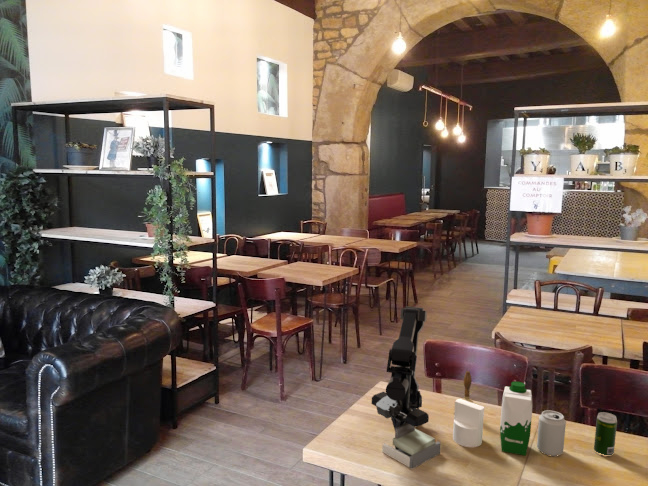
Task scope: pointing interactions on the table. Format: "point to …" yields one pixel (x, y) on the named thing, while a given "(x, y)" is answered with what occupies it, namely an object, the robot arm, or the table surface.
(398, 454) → the tray
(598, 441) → the beer can
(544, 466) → the table surface
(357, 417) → the table surface
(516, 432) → the milk carton
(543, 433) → the can
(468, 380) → the hand bell
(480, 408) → the cylinder with rectangular tab
